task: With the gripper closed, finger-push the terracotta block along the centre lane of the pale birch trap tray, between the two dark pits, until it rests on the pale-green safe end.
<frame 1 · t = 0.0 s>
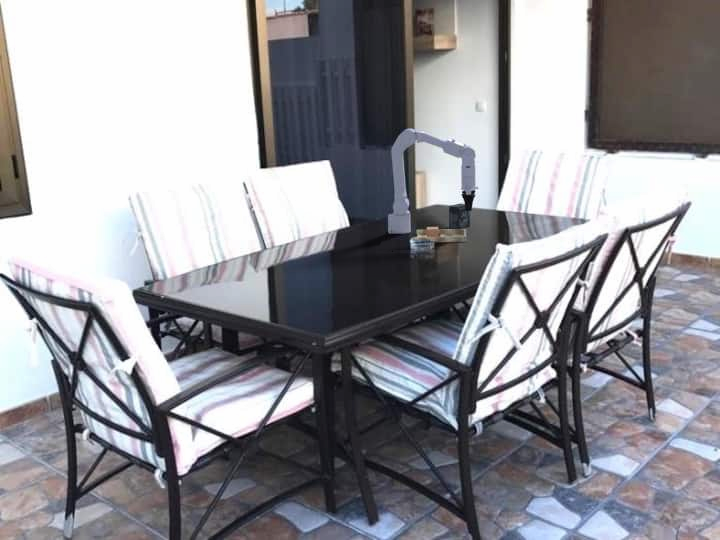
hand: (468, 209, 304), 10 cm above the table, fingers open, 7 cm apart
block: (432, 237, 296), point 1 cm above the table, touching trap tray
trap tray: (440, 240, 296), on the table
box: (459, 229, 316), on the table
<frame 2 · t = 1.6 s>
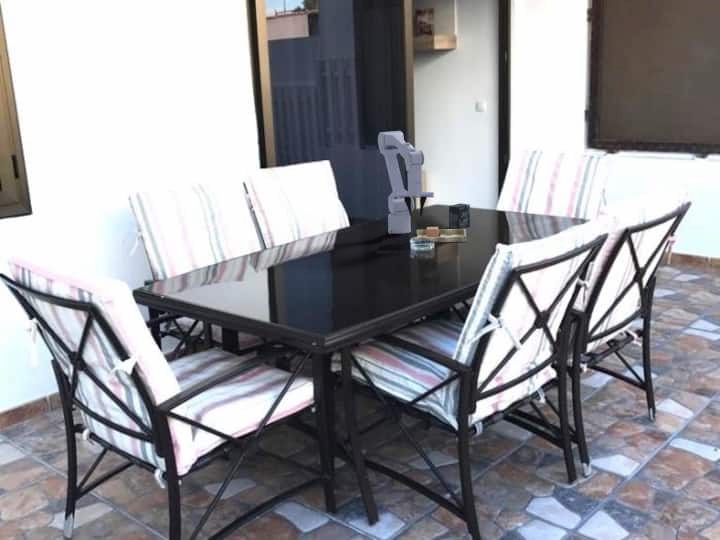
hand: (416, 215, 294), 10 cm above the table, fingers open, 3 cm apart
nothing on the table moved.
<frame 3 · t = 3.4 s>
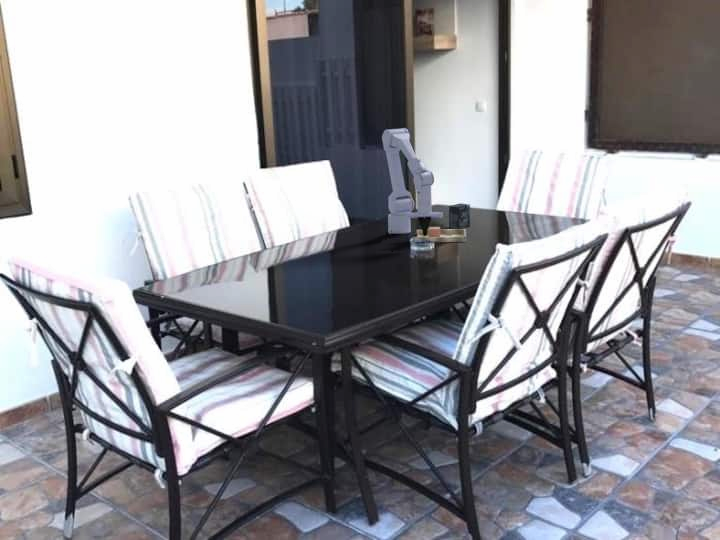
hand: (425, 235, 296), 2 cm above the table, fingers closed
block: (434, 237, 296), point 1 cm above the table, touching gripper, trap tray
everything else where it was.
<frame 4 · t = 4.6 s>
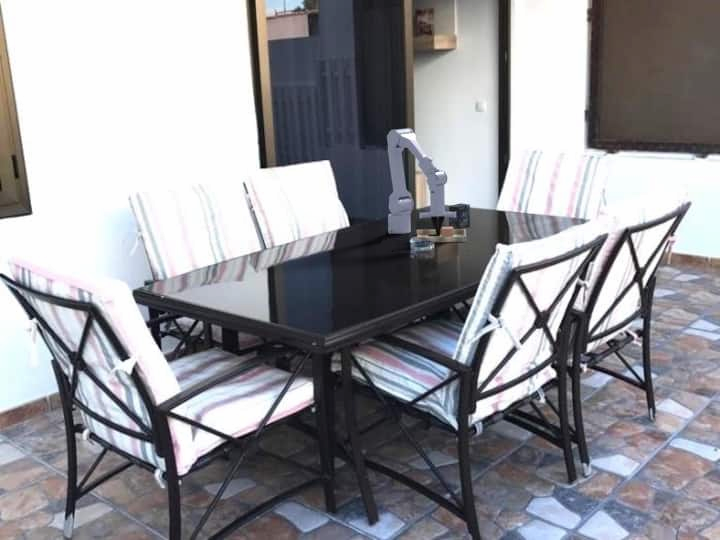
hand: (438, 235, 295), 2 cm above the table, fingers closed
block: (447, 237, 295), point 1 cm above the table, touching gripper
everything else where it was.
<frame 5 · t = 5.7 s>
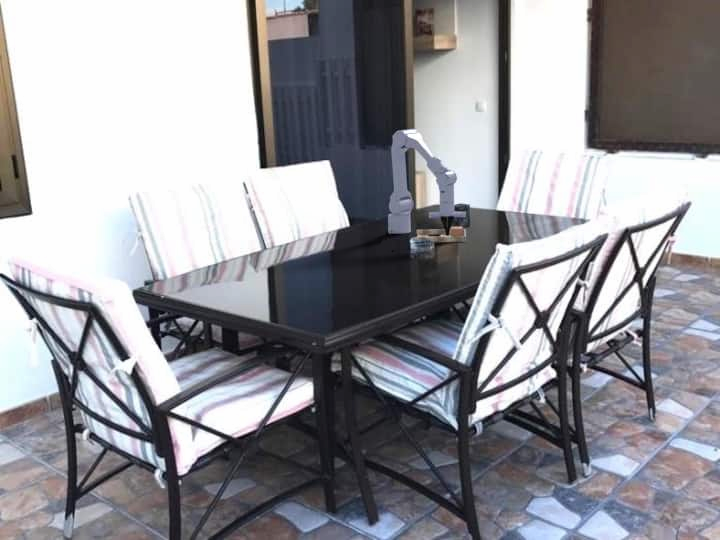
hand: (447, 235, 295), 2 cm above the table, fingers closed
block: (456, 237, 294), point 1 cm above the table, touching gripper, trap tray
everything else where it was.
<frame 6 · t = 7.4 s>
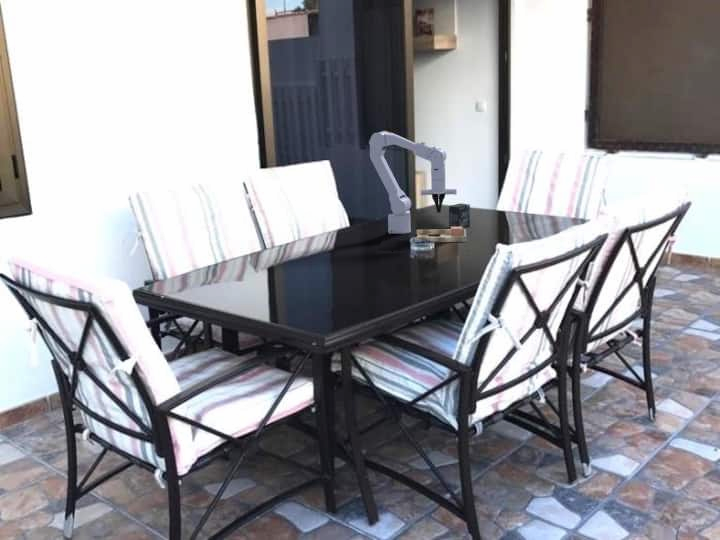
hand: (438, 212, 303), 10 cm above the table, fingers closed
block: (456, 237, 294), point 1 cm above the table, touching trap tray
everything else where it was.
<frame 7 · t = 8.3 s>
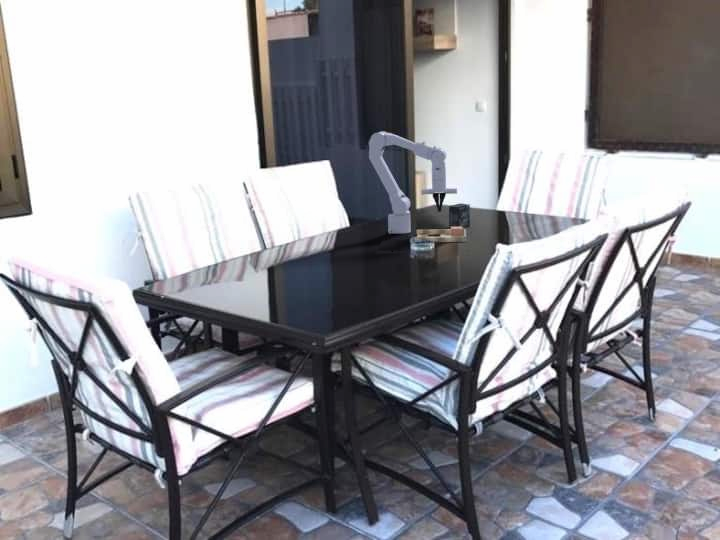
hand: (439, 211, 304), 10 cm above the table, fingers closed
nothing on the table moved.
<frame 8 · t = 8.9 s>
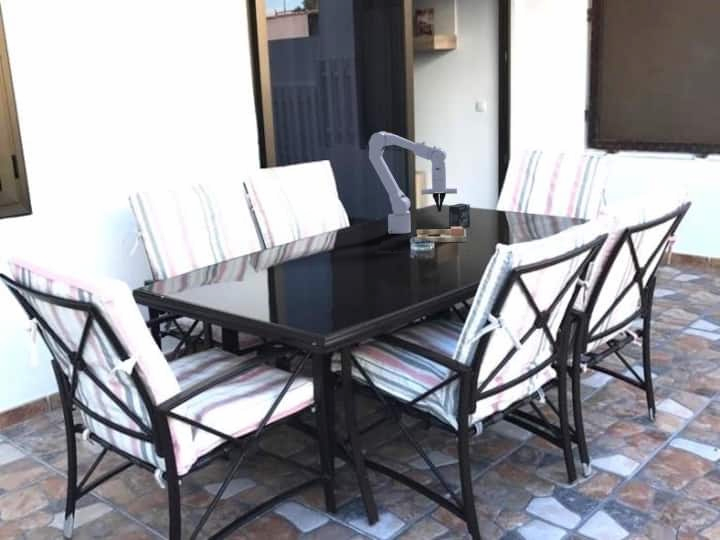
hand: (439, 211, 304), 10 cm above the table, fingers closed
nothing on the table moved.
at the end: block 0.3 cm from the target spot on the trap tray, point 1.2 cm above the trap tray's base; block tilted 0° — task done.
